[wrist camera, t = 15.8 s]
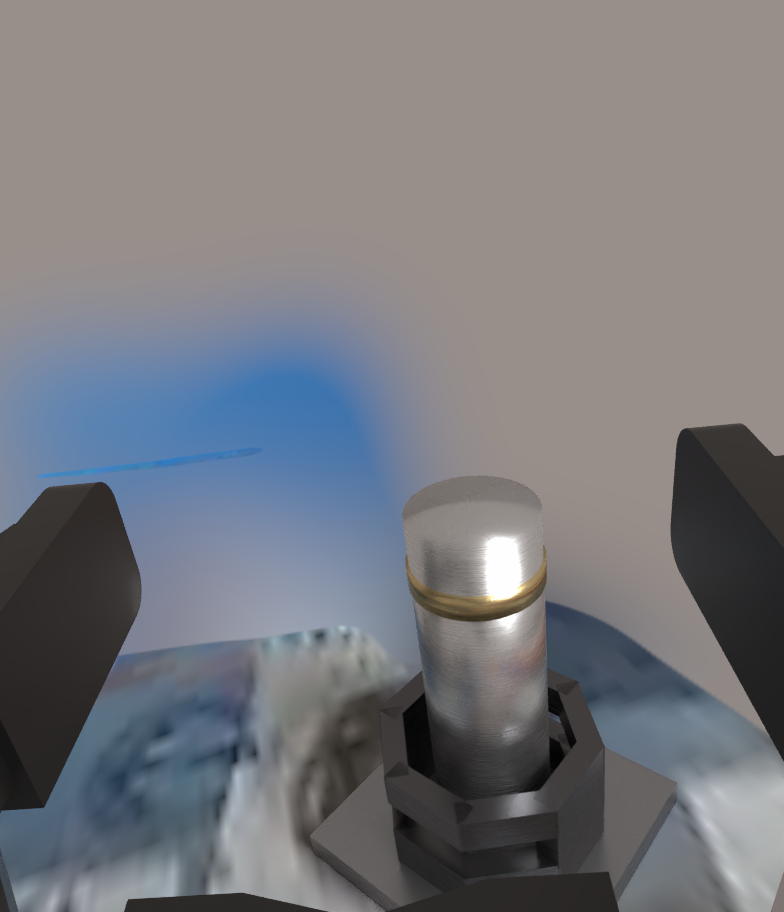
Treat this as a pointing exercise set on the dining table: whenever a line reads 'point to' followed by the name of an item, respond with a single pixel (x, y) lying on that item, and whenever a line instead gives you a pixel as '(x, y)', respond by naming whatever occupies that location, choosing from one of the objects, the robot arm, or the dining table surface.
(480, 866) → the collar stand
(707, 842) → the dining table surface
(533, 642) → the steel tube
